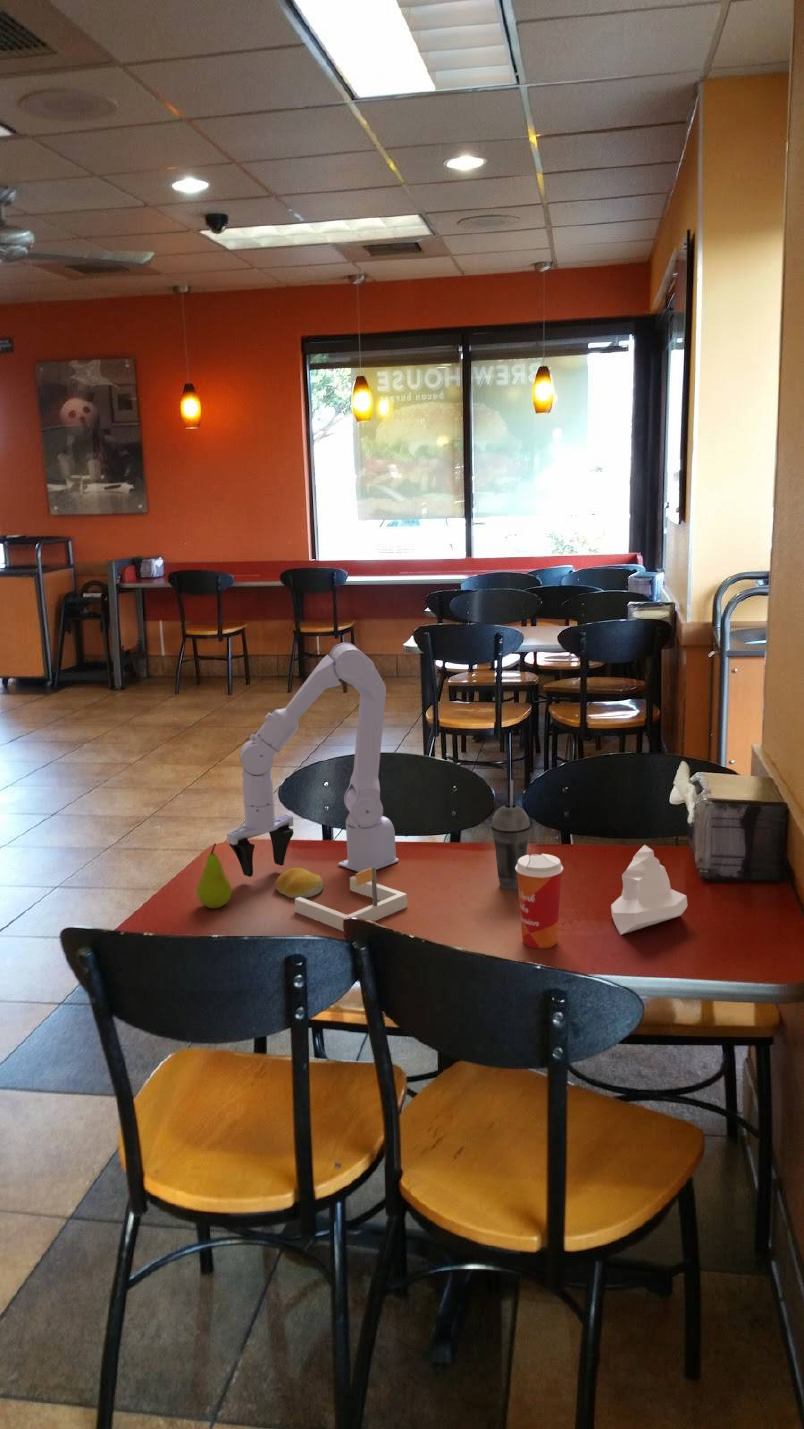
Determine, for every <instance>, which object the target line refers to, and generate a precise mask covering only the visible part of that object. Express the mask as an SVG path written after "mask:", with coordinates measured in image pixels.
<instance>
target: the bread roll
mask: <svg viewBox="0 0 804 1429" xmlns="http://www.w3.org/2000/svg"><path fill="white" fill-rule="evenodd" d="M323 887H324V882H323V878H322V877H321V875H319V874H317V873H316V874H315V873H312V872H310V871H309V870H307V869H306V868H302V867H293V868H289V869H287V870H285V871H284V872H282V873H281V875H279V876H278V878H277V879H276V882H275V888H276V889H277V891H278V892H279V893H280V894H282V895H284V896H286V897H287V898H290V899H295V898H298V897H302V898H304V899H307V898H311V897H315V896H317V895H318V894H320V893H321V891H322V890H323Z"/></svg>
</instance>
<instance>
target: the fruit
mask: <svg viewBox="0 0 804 1429" xmlns="http://www.w3.org/2000/svg"><path fill="white" fill-rule="evenodd" d="M216 845H217V843H215V842H214V844H213V847H212V849H211V852H210V853H209V855H208V857H207V860H206V863H205V866H204V869H203V872H202V874H201V877H200V879H199V882H198V884H197V886H196V895H197V896H196V897H197V898H198V899H199V901H200V902H201V903H202V904H203V905H204V906H206V907H207V908H209V909H218V908H221V907H223V906H224V905H225V904H228V902H229V900H230V899H231V897H232V896H231V895H232V885H231V883H230V881H229V879H228V878H227V876H226V875H225V872H224V869H223V866H222V863H221V861H220V859H219V857H218V855H217V854H216V853H214V852H215V847H216Z"/></svg>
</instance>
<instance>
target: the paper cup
mask: <svg viewBox="0 0 804 1429" xmlns="http://www.w3.org/2000/svg"><path fill="white" fill-rule="evenodd" d="M515 870H516V871H517V874H518V888H519V889H518V900H519V902H518V903H519V913H520V924H521V925H520V926H521V936H522V943H523V945H525V946H527V947H529V948H531V949H539V950H540V949H541V950H544V949H549V948H552V946H553V947H554V946H557V945H556V944H557V943H558V934H559V919H560V916H559V915H560V903H561V882H562V872H563V871H564V867H563V864H562V863H561V860H560V858H558V857H557V856H556V855H555V856H554V855H552V854H547V853H541V854H539V853H537V854H536V853H535V854H534V853H533V854H531V855H529V854H527V855H525V856H522V857H521V858H519V860H518V863H517V865H516V867H515Z"/></svg>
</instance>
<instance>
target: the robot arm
mask: <svg viewBox="0 0 804 1429" xmlns="http://www.w3.org/2000/svg"><path fill="white" fill-rule="evenodd" d="M340 679H341V680H342V681H343V682H345V683H347V684H349V685H351V686H353V687H354V689H356V691H357V692H358V694H359V701H358V702H359V703H358V715H357V723H356V724H357V725H356V726H357V727H356V736H355V737H356V738H355V746H354V760H353V761H354V762H353V769H352V774H351V777H350V779H349V780H350V781H349V786H348V788H347V789H346V791H345V793H344V795H343V802H344V803H343V804H344V806H345V808H346V809H347V810H348V811H349V813H348V815H347V817H346V819H345V833H346V836H345V837H346V852H347V859H346V860H345V859H344V860H343V861H340V862H338V866H340V867H343V868H346V869H348V870H352V871H355V872H357V873H359V872H361V871H364V870H367V869H369V868H371V867H373V866H374V867H376V870H379V869H383V868H385V867H387V866H390V865H392V864H395V863H398V862H399V861H400V860H399V858H398V857H397V856H396V855H397V853H396V831H395V828H394V827H395V826H394V824H393V823H392V820H390V819H389V818H388V817H386V816H385V815H383V814H384V806H383V803H382V801H381V799H380V798H381V787H380V781H379V773H380V762H381V749H382V739H383V729H384V717H385V716H384V715H385V706H386V698H387V697H386V695H387V686H386V684H385V683H384V681H383V679H382V677H381V675H380V673H379V671H378V670H377V668H376V666H375V663H374V661H373V659H371V658H369V657H368V656H367V655H366V654H365V653H364V652H362V651H361V650H360V649H359V648H358V647H357V646H355V644H353V643H350V642H341V643H338V644H336V645H334V646H333V647H332V649H331V650H330V652H329V654H326V655H325V656H324V657H323V658H322V659H321V660H320V661H319V663H318V664H317V666H316V667H315V668H314V669H313V671H312V672H311V673H310V674H309V675H308V677H307V679H306V680H305V681H304V683H303V684H302V685H301V687H300V688H299V689H298V690H297V691H296V693H295V694H294V696H292V698H291V700H290V701H289V703H288V704H287V705H286V706H285V707H283V708H280V709H279V708H278V709H277V708H276V709H275V710H274V711H273V712H271V713H270V712H267V714H266V715H265V717H264V718H265V722H264V723H263V724H262V725H261V726H260V728H258V730H257V732H256V733H251V735H250V736H249V739H250V741H248V740H247V741H246V742H245V743H243V745H242V746H241V748H240V750H239V754H238V756H239V760H240V762H241V765H242V779H243V780H242V792H243V793H242V794H243V804H244V805H243V806H244V820H245V821H244V824H243V825H241V826H239V827H238V828H236V829H234V830H232V831H230V832H229V831H228V832H227V834H226V836H227V844H228V845H229V846H230V847H231V849H232V851H233V852H234V854H235V855H236V857H237V859H238V862H239V864H240V868H241V871H242V874H243V875H244V876H247V877H249V878H252V877H253V875H254V865H253V864H254V863H253V862H254V861H253V858H254V851H255V847H256V846H255V844H254V843H250V840H249V839H253V838H255V837H258V836H261V835H265V834H269V838H270V841H271V846H272V855H273V861H274V862H273V863H274V864H276V865H278V866H284V865H285V858H286V854H287V850H288V846H289V844H290V841H291V839H292V837H293V836H294V829H293V828H290V827H293V826H294V816H292V815H289V814H284V815H280V816H276V811H275V810H276V809H275V796H274V794H275V793H274V780H273V778H272V772H271V769H272V768H273V766H274V757H275V756H277V755H279V753H280V752H281V751H282V750H283V748H285V746H286V745H287V743H288V742H290V740H291V739H292V737H293V736H294V735H295V734H296V732H297V731H298V730H299V719H300V718H301V716H302V715H304V713H305V712H306V711H307V710H308V709H309V708H310V706H311V705H313V703H314V702H315V701H316V700H317V699H318V698H319V697H320V696H321V695H322V693H323V692H324V691H325V690H326V689H329V688H330V689H331V688H335V687H339V686H342V683H341V682H340V681H339V680H340Z"/></svg>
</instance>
